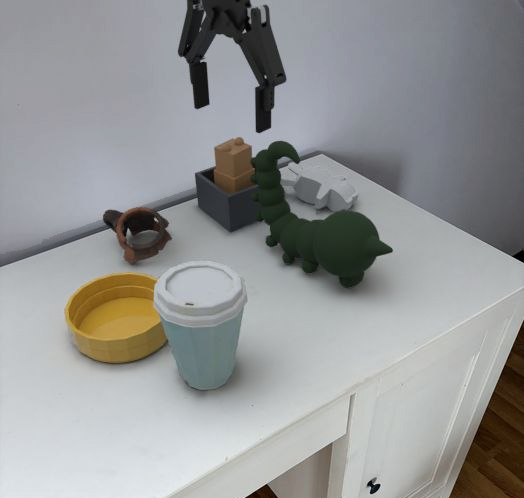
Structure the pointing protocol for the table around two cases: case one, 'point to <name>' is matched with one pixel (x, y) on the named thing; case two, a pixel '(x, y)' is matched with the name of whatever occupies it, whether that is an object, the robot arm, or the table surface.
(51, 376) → the table surface
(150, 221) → the rusty brown ring frame
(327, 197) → the bunny figurine
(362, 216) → the toy figurine
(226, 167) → the tan stacked block
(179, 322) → the disposable coffee cup
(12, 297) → the table surface
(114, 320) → the bowl
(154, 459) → the table surface
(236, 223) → the bin
